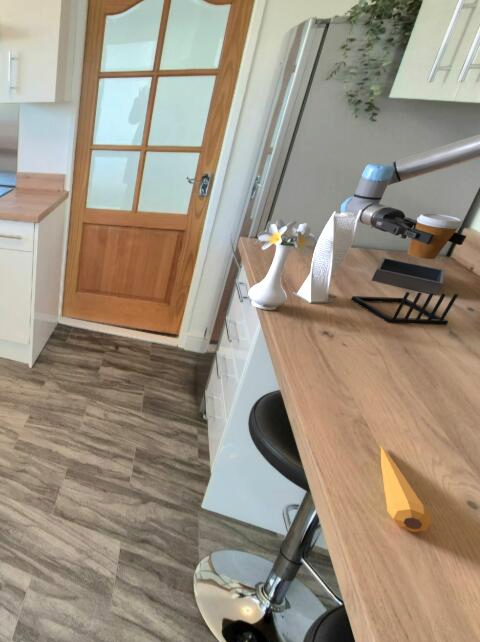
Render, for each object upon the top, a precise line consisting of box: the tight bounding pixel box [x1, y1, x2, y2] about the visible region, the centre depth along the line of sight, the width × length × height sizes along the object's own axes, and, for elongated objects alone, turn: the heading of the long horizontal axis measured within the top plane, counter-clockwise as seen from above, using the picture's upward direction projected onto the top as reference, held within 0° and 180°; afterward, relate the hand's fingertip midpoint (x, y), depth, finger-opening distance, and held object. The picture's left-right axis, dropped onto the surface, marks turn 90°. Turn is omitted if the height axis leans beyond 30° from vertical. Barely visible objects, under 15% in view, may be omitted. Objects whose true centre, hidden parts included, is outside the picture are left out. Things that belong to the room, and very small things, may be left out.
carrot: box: [380, 445, 432, 533], centre depth 69 cm, size 20×4×4 cm, turn 147°
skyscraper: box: [292, 210, 362, 304], centre depth 123 cm, size 8×8×28 cm
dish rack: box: [350, 291, 459, 326], centre depth 120 cm, size 15×14×9 cm
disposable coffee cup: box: [406, 212, 463, 260], centre depth 128 cm, size 10×10×12 cm
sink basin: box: [371, 257, 445, 296], centre depth 140 cm, size 15×15×4 cm
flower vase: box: [247, 218, 317, 311], centre depth 120 cm, size 13×18×25 cm
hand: (446, 240), depth 123 cm, fingers closed on disposable coffee cup, 8 cm apart
